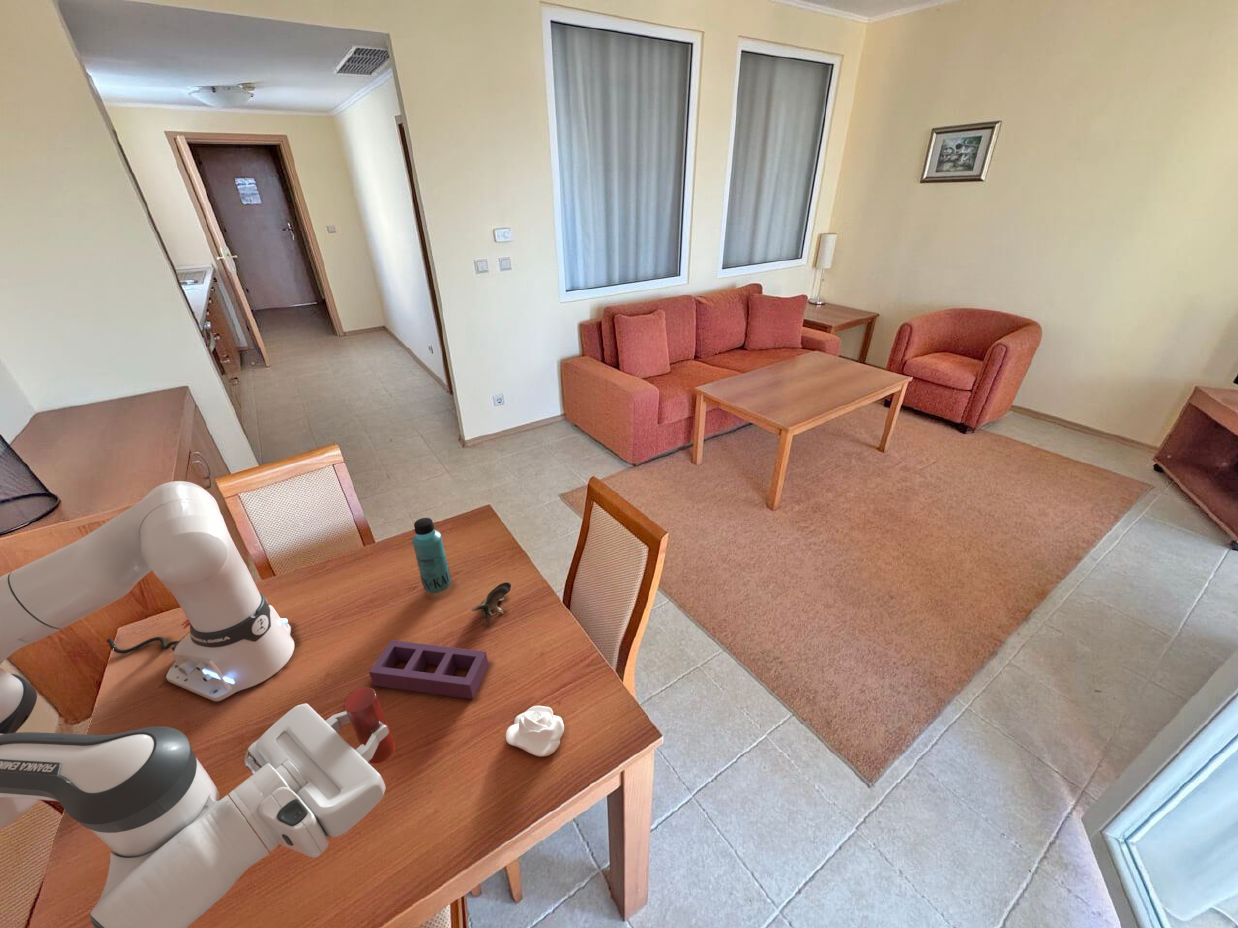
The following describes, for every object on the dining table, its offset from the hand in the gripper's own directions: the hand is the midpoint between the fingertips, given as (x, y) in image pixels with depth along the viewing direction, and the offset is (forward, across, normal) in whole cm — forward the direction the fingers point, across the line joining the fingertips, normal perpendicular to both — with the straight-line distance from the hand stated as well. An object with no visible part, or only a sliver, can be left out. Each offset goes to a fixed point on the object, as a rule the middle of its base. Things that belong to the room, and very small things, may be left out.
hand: (374, 716), depth 72 cm
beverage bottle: (+32, -32, -17) cm, 48 cm away
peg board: (+16, -13, -17) cm, 26 cm away
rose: (+18, +13, -17) cm, 28 cm away
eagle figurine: (+35, -15, -17) cm, 41 cm away
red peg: (-1, 0, -7) cm, 7 cm away
